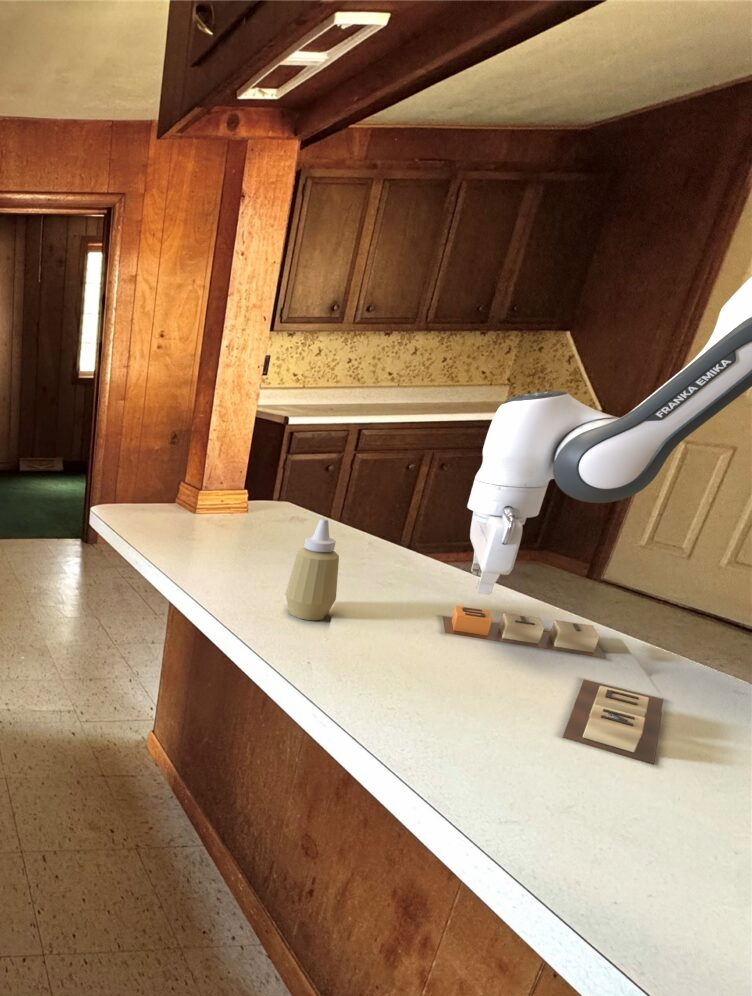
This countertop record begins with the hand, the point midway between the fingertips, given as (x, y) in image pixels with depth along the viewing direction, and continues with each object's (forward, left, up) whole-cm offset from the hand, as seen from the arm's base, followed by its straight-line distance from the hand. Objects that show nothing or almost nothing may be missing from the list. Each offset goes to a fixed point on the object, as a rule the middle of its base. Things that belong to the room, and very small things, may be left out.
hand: (480, 583), depth 108 cm
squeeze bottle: (+19, -14, -9) cm, 26 cm away
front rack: (+7, +27, -9) cm, 29 cm away
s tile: (0, 0, -8) cm, 8 cm away
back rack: (-5, +5, -9) cm, 11 cm away
